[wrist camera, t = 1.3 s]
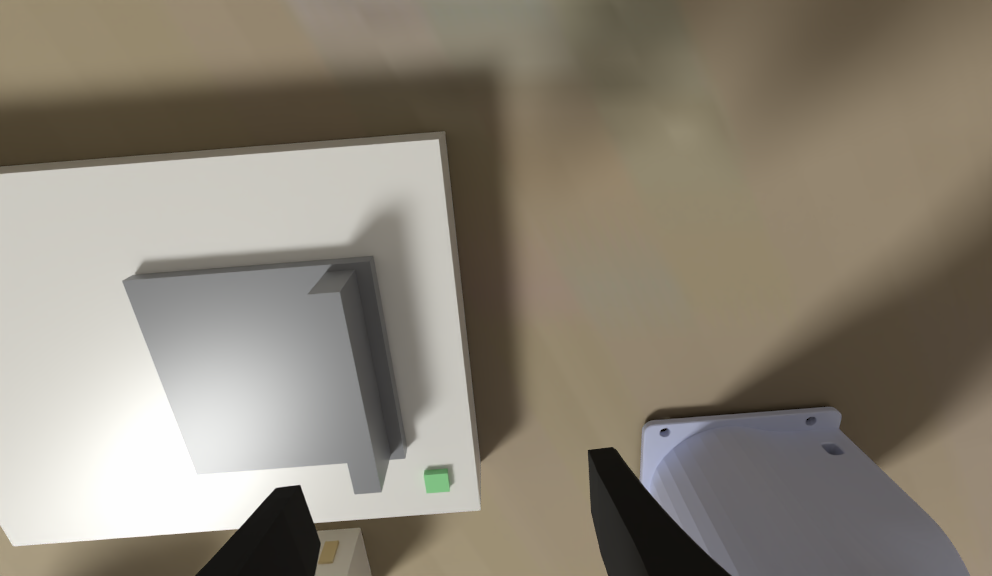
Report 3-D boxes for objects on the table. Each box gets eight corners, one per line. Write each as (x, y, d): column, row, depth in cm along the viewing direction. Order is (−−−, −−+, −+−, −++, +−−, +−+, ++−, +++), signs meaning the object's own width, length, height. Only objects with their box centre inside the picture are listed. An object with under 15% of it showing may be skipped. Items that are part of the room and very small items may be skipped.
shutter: (373, 255, 18) (356, 283, 15) (407, 448, 21) (397, 496, 18) (133, 274, 18) (77, 304, 15) (204, 464, 21) (168, 514, 18)
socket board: (444, 131, 19) (438, 140, 16) (480, 462, 25) (480, 515, 22) (-104, 174, 19) (-217, 191, 16) (65, 495, 25) (7, 552, 22)
